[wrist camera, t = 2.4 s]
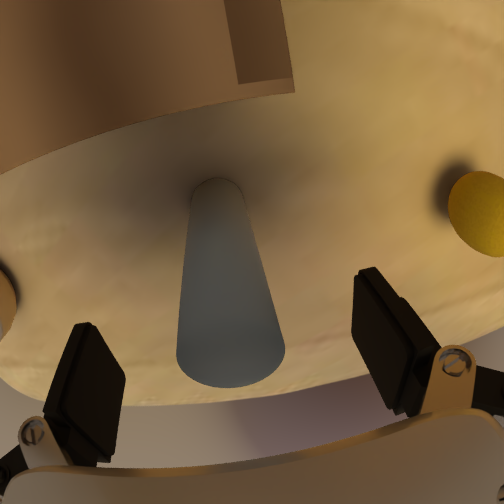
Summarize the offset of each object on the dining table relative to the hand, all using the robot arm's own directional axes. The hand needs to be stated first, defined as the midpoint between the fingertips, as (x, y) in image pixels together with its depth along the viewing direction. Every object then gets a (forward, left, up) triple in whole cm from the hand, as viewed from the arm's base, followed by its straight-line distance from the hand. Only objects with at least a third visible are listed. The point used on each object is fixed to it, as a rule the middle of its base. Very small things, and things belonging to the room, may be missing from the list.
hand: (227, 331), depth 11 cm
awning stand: (-16, -7, -10) cm, 20 cm away
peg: (-1, 0, -10) cm, 10 cm away
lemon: (+1, +18, -11) cm, 21 cm away
